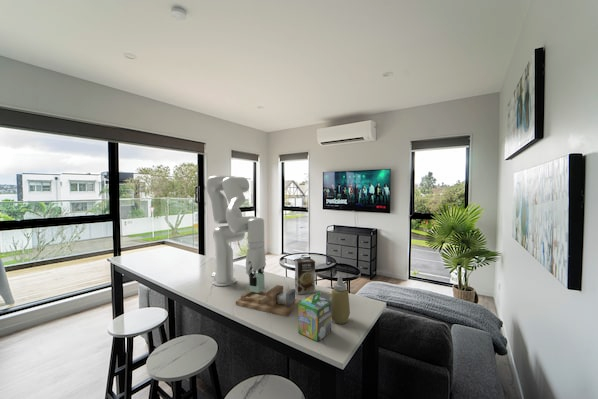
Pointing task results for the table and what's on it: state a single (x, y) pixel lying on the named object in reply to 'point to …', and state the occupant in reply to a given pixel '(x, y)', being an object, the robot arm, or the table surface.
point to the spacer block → (258, 283)
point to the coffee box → (304, 276)
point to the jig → (266, 301)
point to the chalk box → (314, 317)
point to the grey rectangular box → (286, 298)
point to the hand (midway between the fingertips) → (256, 283)
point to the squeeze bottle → (340, 302)
